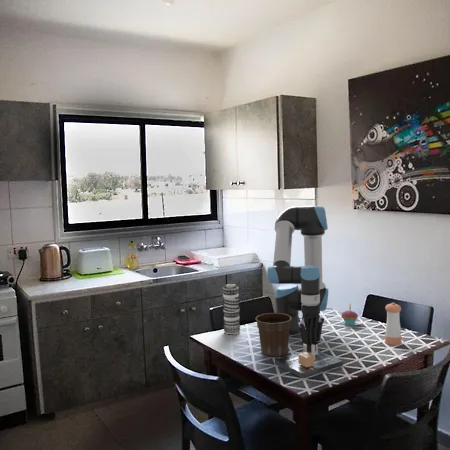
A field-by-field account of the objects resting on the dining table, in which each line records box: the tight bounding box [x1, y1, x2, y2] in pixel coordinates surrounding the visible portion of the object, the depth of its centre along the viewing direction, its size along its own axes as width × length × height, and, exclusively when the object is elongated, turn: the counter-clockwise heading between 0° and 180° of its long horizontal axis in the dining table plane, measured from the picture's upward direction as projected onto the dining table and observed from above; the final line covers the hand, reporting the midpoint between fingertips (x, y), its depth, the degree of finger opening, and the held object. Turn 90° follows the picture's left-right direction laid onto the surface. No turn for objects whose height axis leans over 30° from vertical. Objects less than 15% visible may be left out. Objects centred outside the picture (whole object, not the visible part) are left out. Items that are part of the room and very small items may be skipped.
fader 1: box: [302, 343, 319, 355], centre depth 210 cm, size 5×4×4 cm
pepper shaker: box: [384, 302, 403, 346], centre depth 226 cm, size 7×7×19 cm
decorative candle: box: [221, 283, 241, 335], centre depth 249 cm, size 9×9×25 cm
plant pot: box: [255, 312, 292, 358], centre depth 220 cm, size 16×16×16 cm
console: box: [274, 349, 344, 379], centre depth 205 cm, size 18×22×2 cm
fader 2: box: [299, 352, 314, 367], centre depth 199 cm, size 5×4×4 cm
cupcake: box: [340, 303, 359, 327], centre depth 256 cm, size 9×8×12 cm
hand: (311, 359), depth 200 cm, fingers closed
